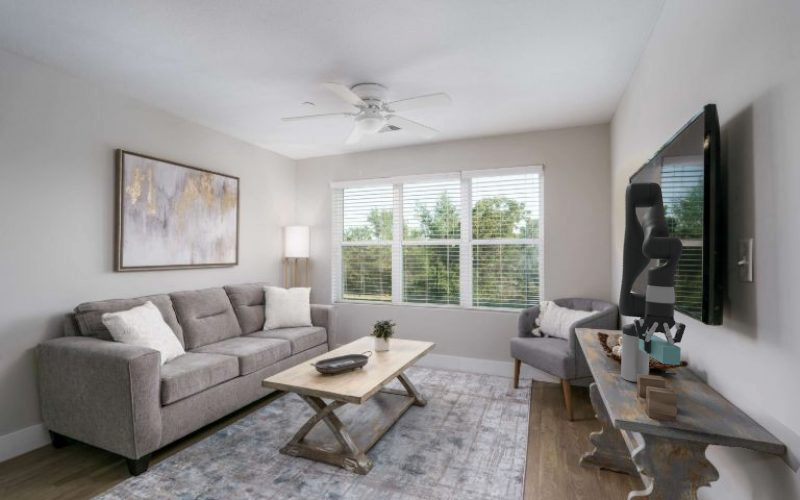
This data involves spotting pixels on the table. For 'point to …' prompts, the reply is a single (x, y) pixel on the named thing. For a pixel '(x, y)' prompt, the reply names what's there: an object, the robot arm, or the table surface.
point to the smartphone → (670, 372)
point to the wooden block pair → (656, 397)
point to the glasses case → (662, 350)
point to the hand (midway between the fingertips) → (657, 353)
